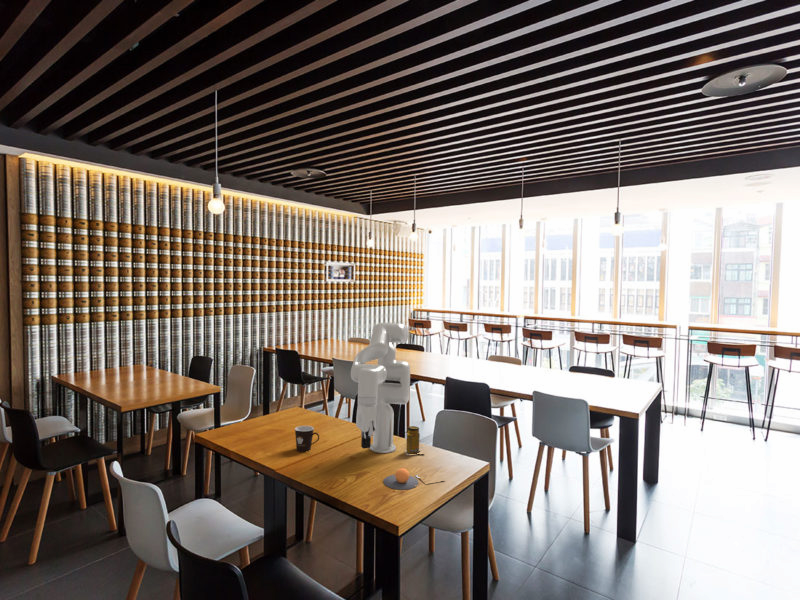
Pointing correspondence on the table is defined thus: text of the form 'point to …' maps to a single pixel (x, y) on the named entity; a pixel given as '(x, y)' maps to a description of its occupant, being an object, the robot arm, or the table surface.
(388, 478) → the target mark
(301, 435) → the coffee mug
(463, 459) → the table surface
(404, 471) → the ball
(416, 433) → the condiment
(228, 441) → the table surface
